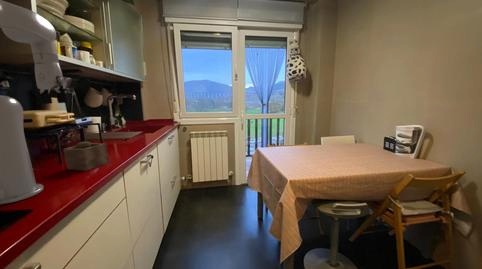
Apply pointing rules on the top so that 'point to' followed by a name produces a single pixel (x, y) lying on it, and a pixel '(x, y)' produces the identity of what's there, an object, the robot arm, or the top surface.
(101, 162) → the walnut box
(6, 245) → the top surface
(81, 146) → the cork
